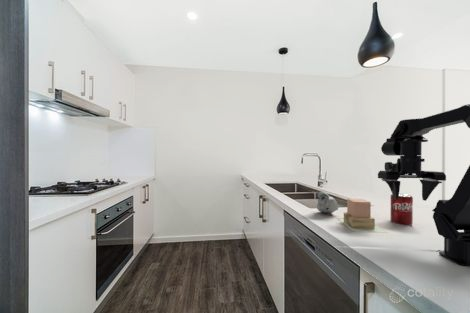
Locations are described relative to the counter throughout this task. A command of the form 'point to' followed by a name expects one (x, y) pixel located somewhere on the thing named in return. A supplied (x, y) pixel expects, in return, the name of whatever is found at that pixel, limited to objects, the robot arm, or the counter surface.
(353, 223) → the oak block
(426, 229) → the counter surface
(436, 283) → the counter surface
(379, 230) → the build plate
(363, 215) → the terracotta block
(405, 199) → the soda can
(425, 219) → the counter surface
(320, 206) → the grey rounded lump
